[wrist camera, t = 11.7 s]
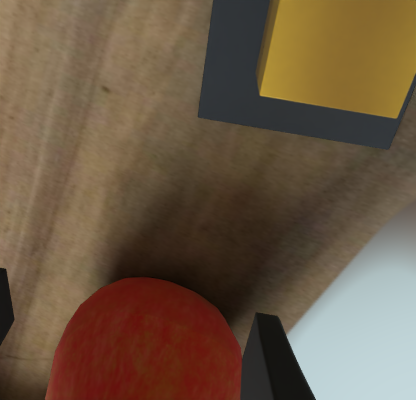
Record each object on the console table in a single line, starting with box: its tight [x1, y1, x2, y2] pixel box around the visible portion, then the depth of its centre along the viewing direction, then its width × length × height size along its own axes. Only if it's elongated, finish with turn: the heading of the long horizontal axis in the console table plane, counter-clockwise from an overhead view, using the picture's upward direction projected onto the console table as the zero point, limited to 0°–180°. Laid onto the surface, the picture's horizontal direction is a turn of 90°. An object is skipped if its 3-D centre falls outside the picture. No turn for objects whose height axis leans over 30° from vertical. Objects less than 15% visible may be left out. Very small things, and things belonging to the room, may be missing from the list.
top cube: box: [256, 0, 416, 118], centre depth 12 cm, size 4×4×4 cm
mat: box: [198, 0, 416, 150], centre depth 14 cm, size 9×9×1 cm
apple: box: [45, 277, 242, 400], centre depth 19 cm, size 10×10×10 cm
